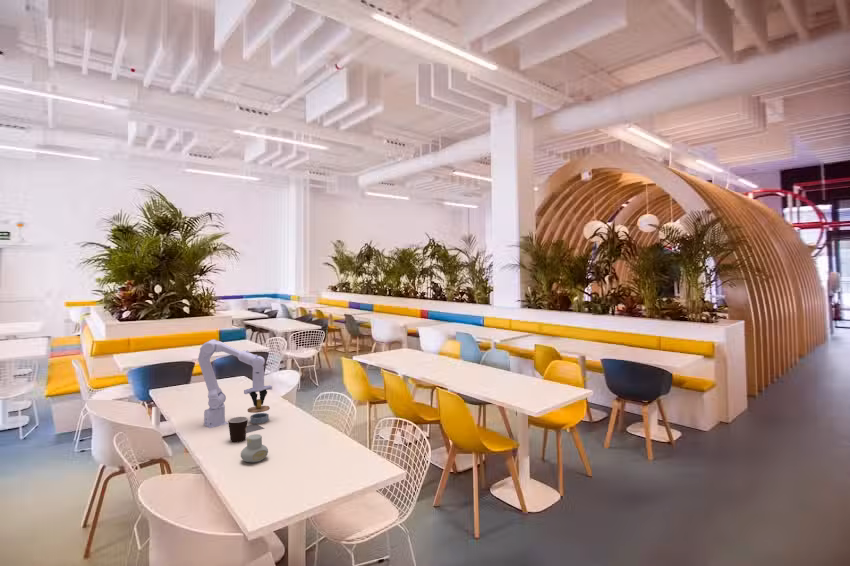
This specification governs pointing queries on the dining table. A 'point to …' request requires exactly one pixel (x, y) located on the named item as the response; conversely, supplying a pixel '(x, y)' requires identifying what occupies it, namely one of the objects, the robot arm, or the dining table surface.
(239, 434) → the coffee mug
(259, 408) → the lid
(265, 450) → the air freshener
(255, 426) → the mat
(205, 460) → the dining table surface
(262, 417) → the bowl
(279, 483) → the dining table surface
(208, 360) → the robot arm
